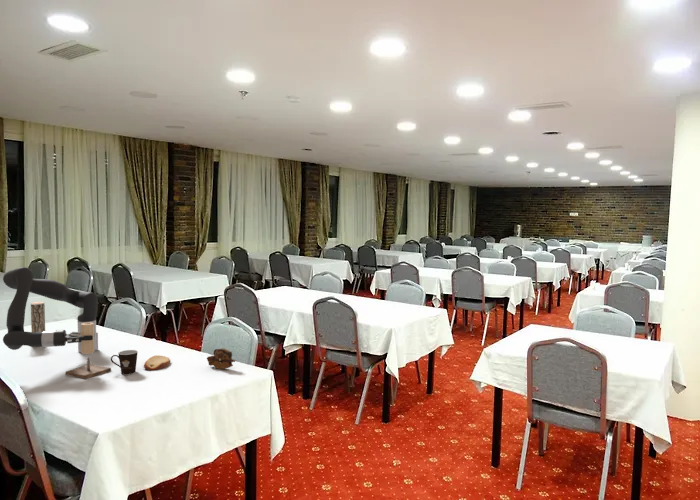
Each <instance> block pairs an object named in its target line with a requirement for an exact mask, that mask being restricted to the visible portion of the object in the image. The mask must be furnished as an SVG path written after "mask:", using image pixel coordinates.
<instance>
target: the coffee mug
mask: <svg viewBox="0 0 700 500" xmlns="http://www.w3.org/2000/svg"><path fill="white" fill-rule="evenodd" d="M138 353H139V351H138V350H135V349H128V350H126V349H125V350H121V351H119V352H118V354H113V355H112V356H111V357H110V361H111V363H113V364H114V365H115V366H117V367H119V368H120V373H121V375H132V374H135V373H136V372H137V362H138ZM113 357H117V358H118V360H119V364H117V363H116V362H115V361H114V360H113Z"/></svg>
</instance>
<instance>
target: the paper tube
mask: <svg viewBox="0 0 700 500" xmlns="http://www.w3.org/2000/svg"><path fill="white" fill-rule="evenodd" d="M45 307H46V305H45V301H33V302H30V319H31V320H30V321H31V322H30V323H31V324H30V325H31V332H43V331H46V314H45V313H46V311H45Z"/></svg>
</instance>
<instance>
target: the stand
mask: <svg viewBox="0 0 700 500" xmlns="http://www.w3.org/2000/svg"><path fill="white" fill-rule="evenodd" d="M111 371H112V367H108V366H104V365H98V364H93V363H91V361H90V357H87V360H86V365H84V366H80V367H76V368H73V369H69V370H65V375H66V376H70V377H74V378H75V377H76V378H79V379H84V380H86V379H89V378H93V377H96V376H99V374H100V375H102V374H105V373H108V372H109V373H110V372H111Z"/></svg>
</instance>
